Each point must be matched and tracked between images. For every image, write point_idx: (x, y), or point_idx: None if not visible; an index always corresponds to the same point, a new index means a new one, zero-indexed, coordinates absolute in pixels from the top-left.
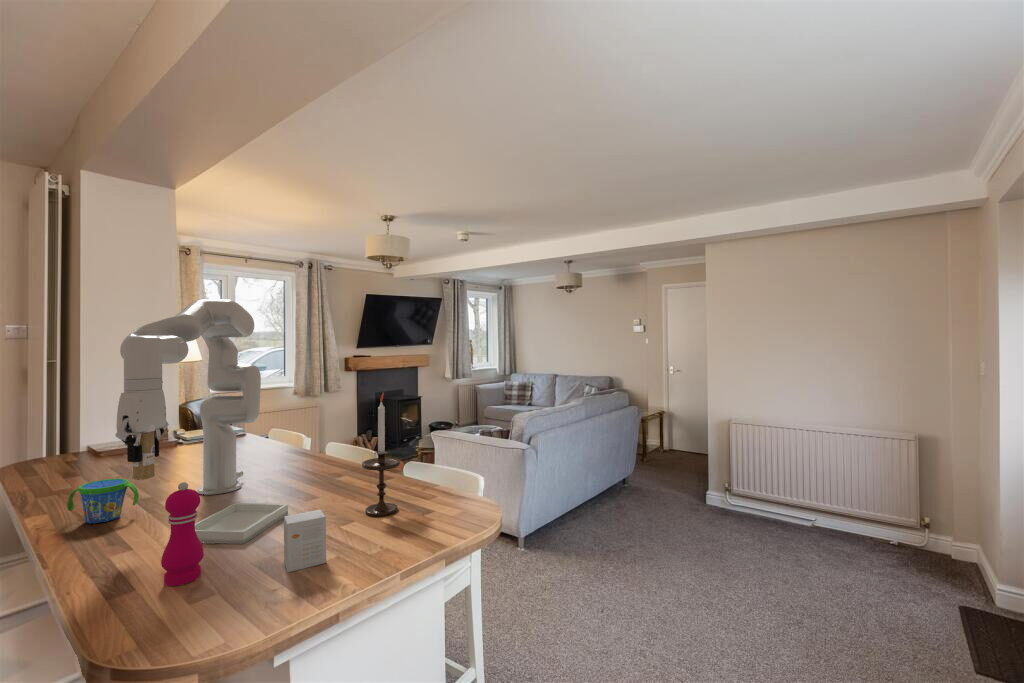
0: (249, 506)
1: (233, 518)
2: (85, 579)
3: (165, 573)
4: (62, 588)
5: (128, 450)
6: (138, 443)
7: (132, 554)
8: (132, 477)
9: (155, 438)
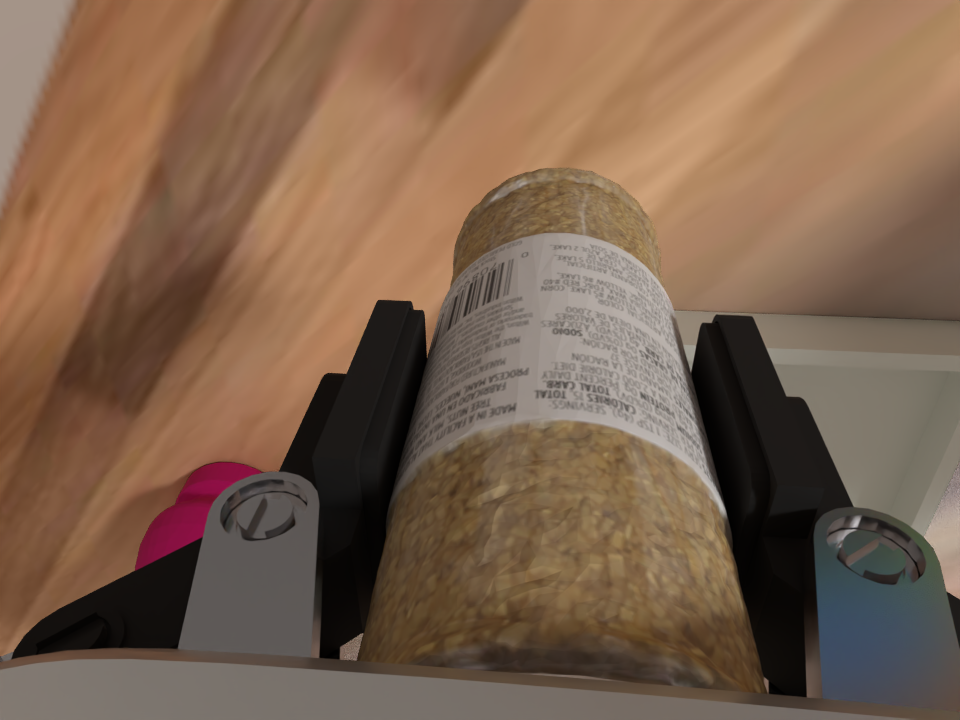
0: (942, 439)
1: (819, 398)
2: (129, 168)
3: (190, 490)
4: (42, 141)
5: (288, 458)
6: (333, 645)
7: (387, 165)
8: (480, 204)
9: (774, 664)
